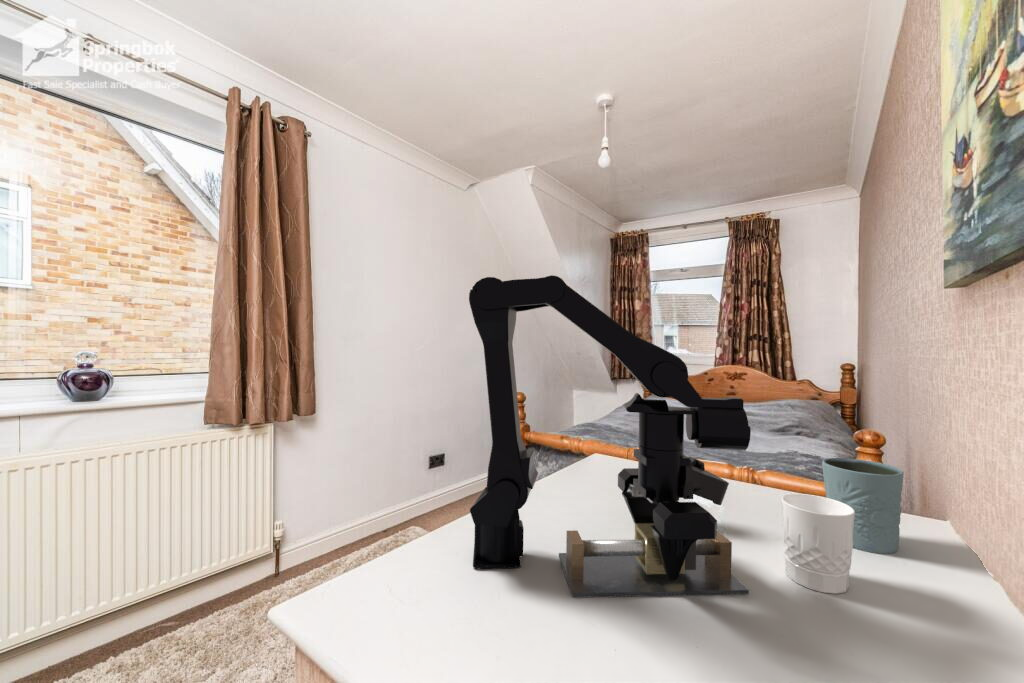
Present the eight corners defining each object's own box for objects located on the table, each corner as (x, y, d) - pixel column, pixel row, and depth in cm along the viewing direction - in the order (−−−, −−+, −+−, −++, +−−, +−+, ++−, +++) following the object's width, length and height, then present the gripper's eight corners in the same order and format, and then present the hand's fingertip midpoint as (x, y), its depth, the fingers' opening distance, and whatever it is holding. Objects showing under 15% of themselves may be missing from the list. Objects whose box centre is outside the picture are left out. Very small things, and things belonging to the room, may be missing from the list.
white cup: (821, 601, 52) (822, 518, 52) (766, 568, 60) (767, 496, 60) (870, 592, 54) (870, 512, 54) (811, 561, 62) (812, 491, 62)
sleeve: (646, 574, 55) (647, 538, 55) (634, 556, 60) (635, 523, 60) (684, 573, 56) (685, 537, 56) (669, 556, 60) (670, 523, 60)
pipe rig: (572, 597, 52) (572, 555, 52) (558, 556, 62) (559, 521, 62) (748, 594, 53) (749, 553, 53) (707, 554, 63) (708, 520, 63)
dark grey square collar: (683, 570, 56) (684, 539, 56) (670, 554, 60) (671, 526, 60) (695, 569, 56) (696, 539, 56) (682, 554, 60) (682, 525, 60)
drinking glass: (895, 563, 62) (896, 479, 62) (812, 537, 69) (813, 463, 70) (908, 543, 68) (909, 466, 68) (831, 522, 76) (832, 453, 76)
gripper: (762, 465, 49) (761, 603, 49) (687, 432, 68) (686, 531, 68) (666, 465, 48) (665, 605, 48) (617, 431, 67) (616, 532, 67)
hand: (659, 562), depth 58 cm, fingers open, 8 cm apart
